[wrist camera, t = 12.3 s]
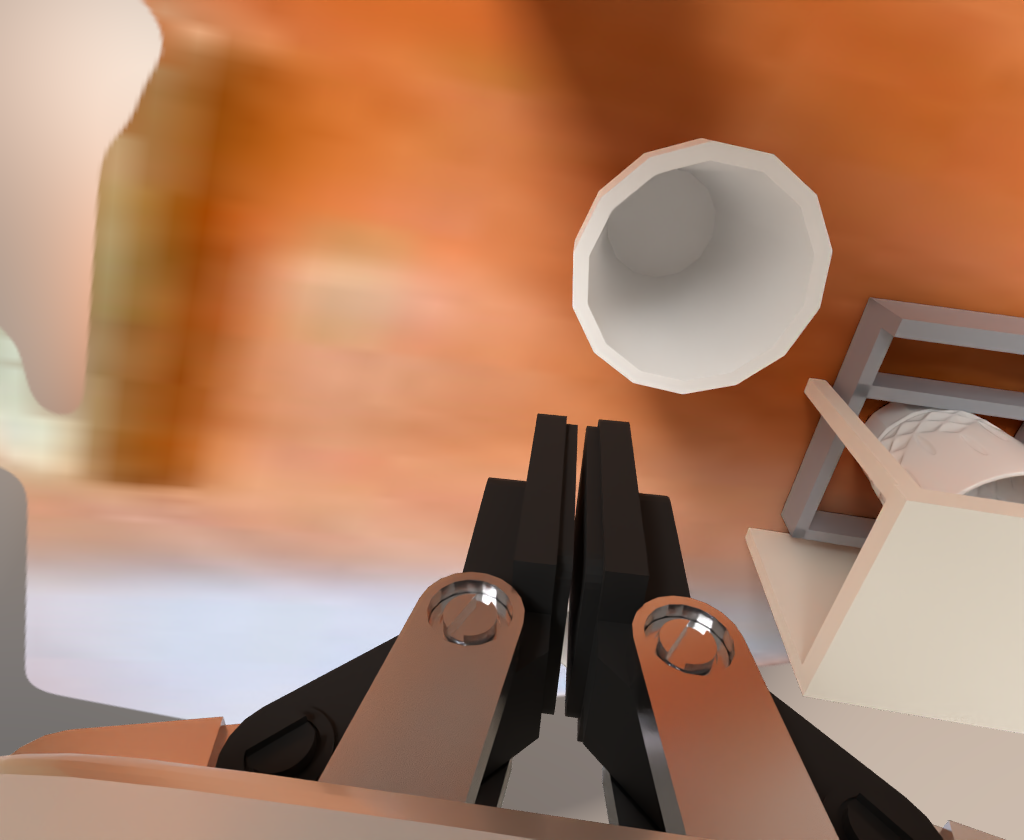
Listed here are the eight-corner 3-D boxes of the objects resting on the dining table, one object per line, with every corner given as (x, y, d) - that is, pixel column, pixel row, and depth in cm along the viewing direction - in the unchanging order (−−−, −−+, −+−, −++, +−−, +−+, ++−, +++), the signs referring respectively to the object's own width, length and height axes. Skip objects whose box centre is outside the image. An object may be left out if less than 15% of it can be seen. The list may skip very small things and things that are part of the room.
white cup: (1008, 428, 37) (1140, 528, 28) (902, 509, 40) (990, 620, 31) (918, 360, 35) (1027, 442, 27) (817, 449, 39) (884, 548, 30)
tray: (869, 297, 34) (902, 318, 30) (1096, 327, 33) (1156, 353, 30) (780, 514, 41) (798, 552, 38) (963, 542, 41) (999, 583, 37)
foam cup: (580, 132, 32) (575, 144, 20) (757, 127, 31) (857, 136, 19) (576, 303, 36) (570, 391, 25) (731, 304, 35) (800, 396, 24)
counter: (806, 377, 37) (906, 500, 25) (1070, 414, 36) (1301, 560, 24) (744, 538, 43) (802, 696, 31) (969, 573, 42) (1114, 749, 30)
